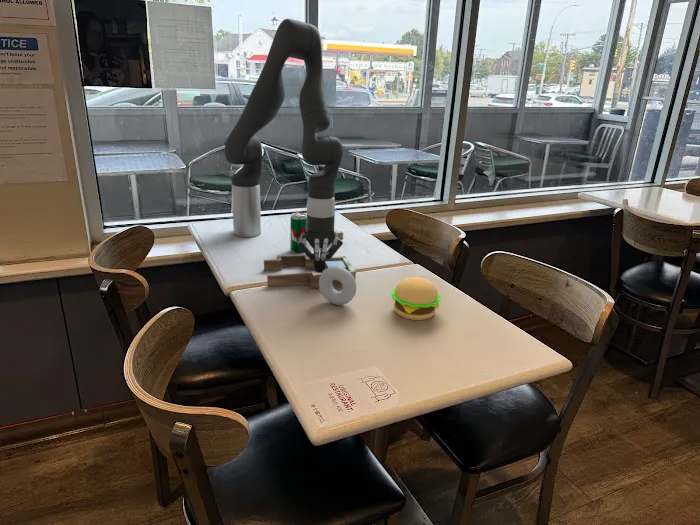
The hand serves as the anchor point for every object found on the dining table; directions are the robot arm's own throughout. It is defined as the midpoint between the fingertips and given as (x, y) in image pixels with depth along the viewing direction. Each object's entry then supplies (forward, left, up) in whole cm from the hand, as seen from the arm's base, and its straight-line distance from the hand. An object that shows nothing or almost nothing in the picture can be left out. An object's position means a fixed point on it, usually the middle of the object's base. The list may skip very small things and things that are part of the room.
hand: (319, 271), depth 140 cm
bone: (-27, +10, -1) cm, 28 cm away
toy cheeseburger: (+25, +19, -1) cm, 32 cm away
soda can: (-21, -3, -1) cm, 21 cm away
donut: (+18, +1, -1) cm, 19 cm away
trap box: (0, -3, -1) cm, 3 cm away
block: (0, +4, -1) cm, 5 cm away
